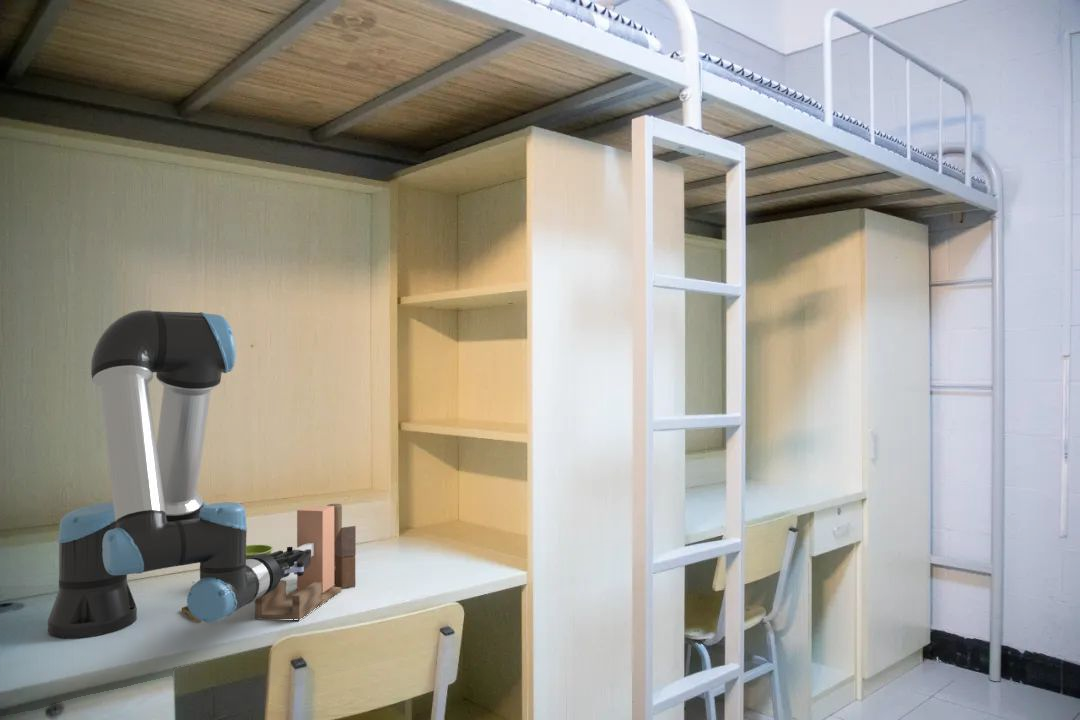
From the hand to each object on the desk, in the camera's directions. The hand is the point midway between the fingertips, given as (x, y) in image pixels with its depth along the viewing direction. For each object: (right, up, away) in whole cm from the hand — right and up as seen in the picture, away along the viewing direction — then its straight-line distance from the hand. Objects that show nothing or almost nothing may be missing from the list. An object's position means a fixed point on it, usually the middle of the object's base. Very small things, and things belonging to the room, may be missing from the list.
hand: (311, 548), depth 164 cm
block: (0, -10, +3) cm, 10 cm away
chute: (-1, -11, -4) cm, 12 cm away
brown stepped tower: (+3, -11, +12) cm, 17 cm away
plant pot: (-17, -11, +9) cm, 22 cm away
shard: (-19, -12, -9) cm, 24 cm away
